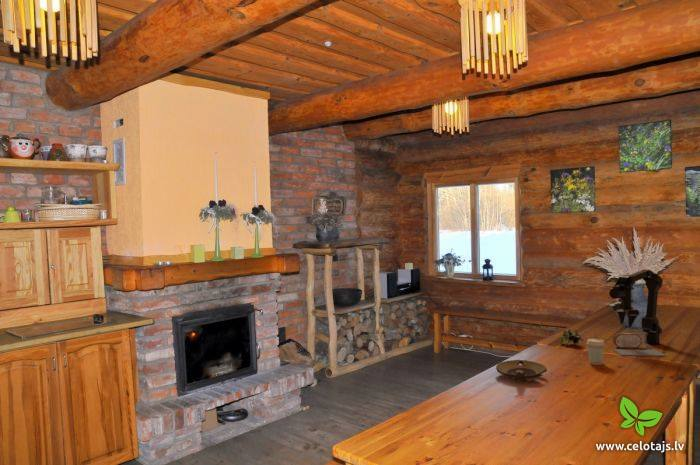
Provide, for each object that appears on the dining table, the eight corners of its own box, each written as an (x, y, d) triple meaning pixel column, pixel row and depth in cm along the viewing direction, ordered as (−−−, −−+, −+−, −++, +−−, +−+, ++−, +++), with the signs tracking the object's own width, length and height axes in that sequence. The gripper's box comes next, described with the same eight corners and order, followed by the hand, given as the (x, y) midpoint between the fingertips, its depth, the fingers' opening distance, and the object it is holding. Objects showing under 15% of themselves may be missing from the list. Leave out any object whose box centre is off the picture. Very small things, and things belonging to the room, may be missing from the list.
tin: (640, 347, 297) (640, 332, 297) (642, 348, 294) (642, 333, 293) (612, 347, 298) (612, 332, 298) (614, 348, 295) (614, 333, 295)
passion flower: (574, 353, 306) (587, 338, 303) (567, 353, 299) (580, 337, 295) (559, 340, 314) (572, 325, 310) (552, 340, 306) (564, 324, 302)
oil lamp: (554, 375, 246) (554, 359, 246) (529, 391, 224) (529, 373, 224) (509, 367, 261) (509, 352, 261) (481, 382, 238) (481, 365, 238)
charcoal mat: (655, 350, 287) (655, 349, 287) (665, 356, 275) (665, 355, 275) (613, 350, 290) (613, 349, 290) (621, 355, 279) (621, 354, 279)
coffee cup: (607, 366, 259) (607, 342, 259) (588, 365, 261) (588, 341, 261) (602, 361, 268) (602, 338, 268) (584, 361, 269) (584, 338, 269)
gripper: (603, 295, 304) (603, 322, 304) (619, 299, 285) (619, 328, 285) (623, 295, 303) (623, 322, 303) (640, 299, 285) (639, 328, 285)
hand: (625, 325), depth 294 cm, fingers open, 9 cm apart
